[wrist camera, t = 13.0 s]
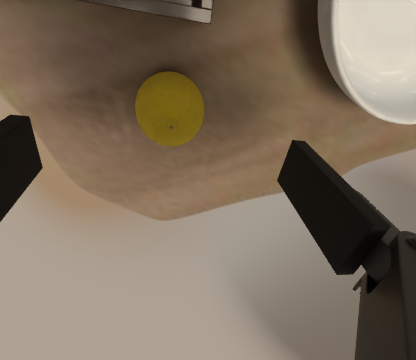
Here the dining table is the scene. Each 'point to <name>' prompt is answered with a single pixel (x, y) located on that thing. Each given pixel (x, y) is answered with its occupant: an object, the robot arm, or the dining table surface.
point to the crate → (166, 8)
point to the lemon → (169, 108)
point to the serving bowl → (372, 54)
